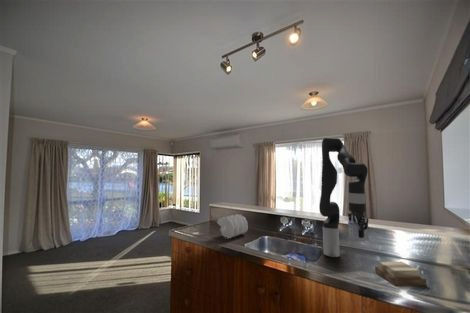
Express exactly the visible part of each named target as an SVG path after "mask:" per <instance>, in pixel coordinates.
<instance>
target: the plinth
mask: <svg viewBox="0 0 470 313" xmlns="http://www.w3.org/2000/svg"><path fill="white" fill-rule="evenodd" d="M374 270H375V272H374V273H376V274H377V275H379V276H381V277H382V278H383V279H385V280H386V281H388V282H390V283H391V284H392V285H394V286H396V287H427V285H428V284H427V279H426V278H425V277H422V276H421V274H420V271H421V270H420V269H418V268H416V267H413V266H411V265H410V264H407V263H406V262H403V261H379V266H377V265H376V266H375V267H374Z"/></svg>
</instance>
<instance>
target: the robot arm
mask: <svg viewBox="0 0 470 313" xmlns="http://www.w3.org/2000/svg"><path fill="white" fill-rule="evenodd" d="M321 153H322V154H321V158H322V162H321V164H322V165H321V167H322V168H321V192H320V200H319V213H320V215H321V216H322V217H324V218H325V217H326V219H325V220H323V222H322V239H323V240H322V241H323V242H322V243H323V244H322V245H323V246H322V247H323V255H325V256H328V257H330V258H338V257H340V239H339V238H340V233H339V232H340V231H339V225H340V215H341V214H340V212H341V210H340V207H339V205H338V203H337V202H335V201H331V195H332V193H333V191H334V190H335V188H336V186H337V183H338V170H337V169H336V167H335V165H334V163H333V162H332V160H331V158H330V157H331V156H330V153H337V156H336V157H337V161H338V163H339V164H340V165H341V166H342V169H343V173H344V175H346V176H347V177H350V178H351V177H353V178H356V179H355V180H353V181H349V183H348V210H349V212H350V213H347V217H348V222H356V223H357V225H358V229H359V237H360V238H364V230H367V226H368V227H369V218H368V217H366V216H365V214H364V213H366V212H367V209H366V206H367V205H366V194H365V184H366V179H367V176H368V171H369V170H368V167H367V165H366V164H365V163H360V162H359V163H358V162H356V159H355V158H354V157H353V156H352V155H351V154H350V153H349V152H348V150H347V149H346V146H345V145H344V143H343V141H342V139H340V138H339V137H324V138H323V139H322V141H321ZM360 225H361V227H360ZM364 225H365V227H364Z"/></svg>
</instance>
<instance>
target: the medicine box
mask: <svg viewBox="0 0 470 313" xmlns="http://www.w3.org/2000/svg"><path fill="white" fill-rule="evenodd" d="M347 226H348V228H347V229H348V239H349V240H351V241H352V242H361V241H362V242H369V241H370V238H369V237H370V236H369V225H368V226H367V230H364V238H360V237H359V229H358V225H357V223H356V222H349V221H347ZM360 227H361V225H360ZM364 227H365V225H364Z"/></svg>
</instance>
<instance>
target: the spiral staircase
mask: <svg viewBox="0 0 470 313" xmlns="http://www.w3.org/2000/svg"><path fill="white" fill-rule="evenodd" d="M216 223H217V224H218V225H219V226H220V229H219V230H220V232H221V236H223V237H224V238H225V237H227V238H226V239H229V238H230V239H232V238H233V237H234V238H235V237H236V236H241V234H243V235H244V234H245V233H246V232H248V229H249V226H248V225H249V223H248V220H247V218H246V217H245V216H243V214H239V213H236V214H234V215H233V214H231V215H227V216H222V217H221V218H218V219H217V221H216Z"/></svg>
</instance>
